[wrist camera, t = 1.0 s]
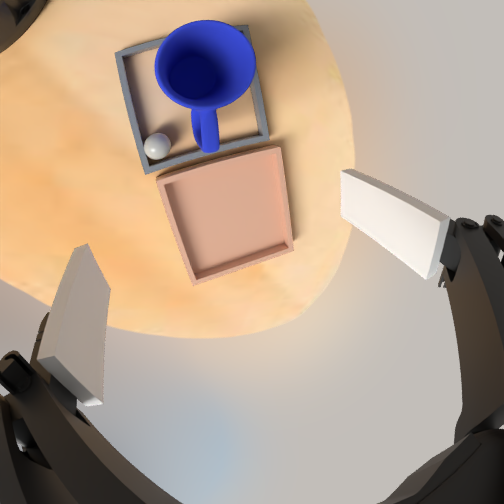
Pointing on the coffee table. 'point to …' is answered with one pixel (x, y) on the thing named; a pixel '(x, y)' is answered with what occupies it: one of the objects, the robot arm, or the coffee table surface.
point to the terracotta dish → (228, 212)
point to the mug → (205, 73)
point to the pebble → (157, 146)
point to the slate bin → (197, 153)
